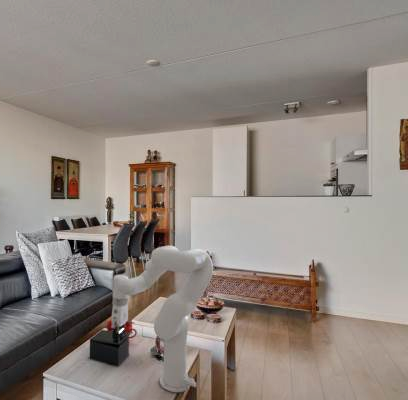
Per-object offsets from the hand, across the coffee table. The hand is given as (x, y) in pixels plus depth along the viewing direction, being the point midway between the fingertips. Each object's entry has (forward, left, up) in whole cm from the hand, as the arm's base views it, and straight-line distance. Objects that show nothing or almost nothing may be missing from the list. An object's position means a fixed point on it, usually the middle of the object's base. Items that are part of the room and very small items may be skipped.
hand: (118, 336), depth 153 cm
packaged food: (-18, -15, -11) cm, 26 cm away
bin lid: (+5, 0, -2) cm, 5 cm away
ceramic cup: (+6, -17, -11) cm, 21 cm away
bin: (+5, 0, -11) cm, 12 cm away
